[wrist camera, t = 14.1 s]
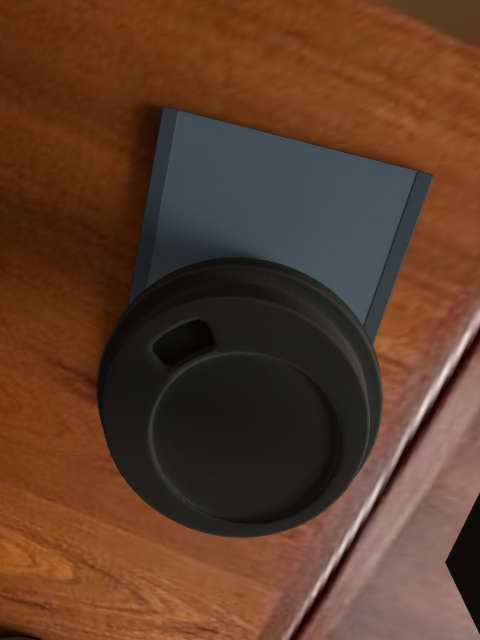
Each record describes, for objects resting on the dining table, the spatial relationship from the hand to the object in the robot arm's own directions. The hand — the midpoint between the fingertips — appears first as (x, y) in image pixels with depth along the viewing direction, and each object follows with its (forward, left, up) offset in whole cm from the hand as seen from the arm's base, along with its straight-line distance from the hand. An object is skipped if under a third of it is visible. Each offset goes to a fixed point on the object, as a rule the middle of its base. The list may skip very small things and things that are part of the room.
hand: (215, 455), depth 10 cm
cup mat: (0, 0, -17) cm, 17 cm away
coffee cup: (0, 0, -17) cm, 17 cm away
